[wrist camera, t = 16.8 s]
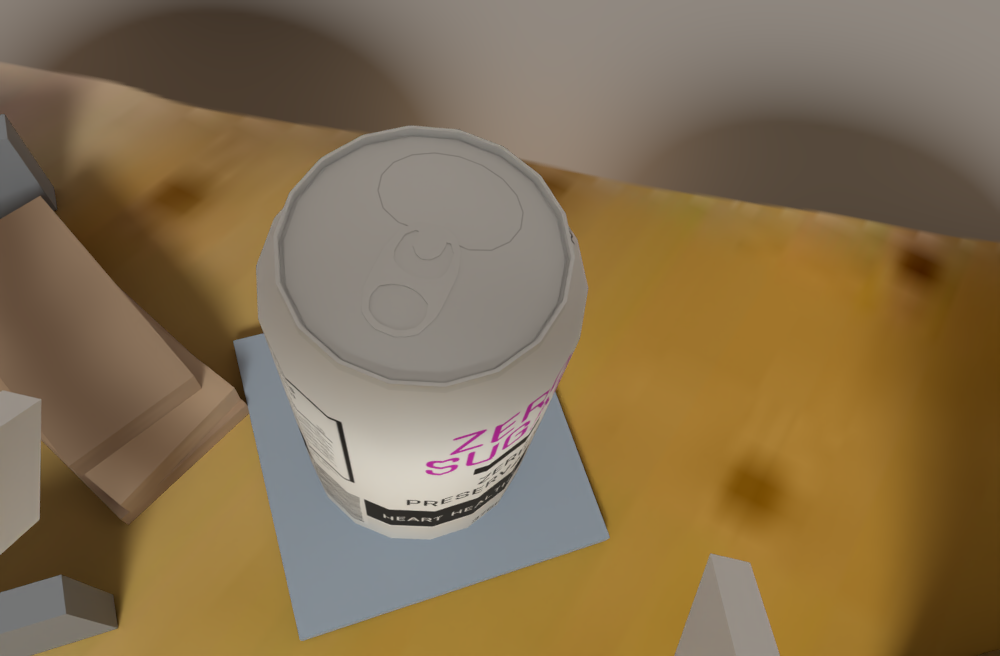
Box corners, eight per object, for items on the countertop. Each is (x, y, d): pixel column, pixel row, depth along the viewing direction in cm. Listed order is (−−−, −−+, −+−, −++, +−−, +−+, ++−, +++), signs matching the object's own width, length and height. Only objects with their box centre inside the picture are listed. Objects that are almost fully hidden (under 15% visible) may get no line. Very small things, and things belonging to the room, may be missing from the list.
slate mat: (508, 278, 37) (510, 272, 36) (606, 540, 33) (609, 537, 32) (235, 346, 34) (233, 340, 34) (301, 641, 30) (299, 639, 29)
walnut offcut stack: (62, 233, 36) (25, 182, 32) (257, 412, 34) (240, 377, 30) (-76, 334, 34) (-132, 291, 30) (124, 535, 31) (89, 513, 28)
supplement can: (365, 315, 35) (340, 63, 21) (548, 388, 34) (643, 178, 21) (273, 492, 31) (174, 326, 18) (476, 577, 31) (532, 472, 17)
